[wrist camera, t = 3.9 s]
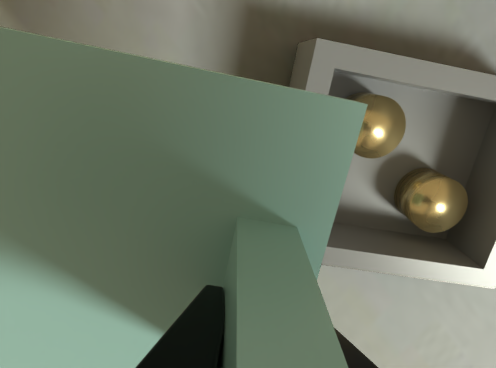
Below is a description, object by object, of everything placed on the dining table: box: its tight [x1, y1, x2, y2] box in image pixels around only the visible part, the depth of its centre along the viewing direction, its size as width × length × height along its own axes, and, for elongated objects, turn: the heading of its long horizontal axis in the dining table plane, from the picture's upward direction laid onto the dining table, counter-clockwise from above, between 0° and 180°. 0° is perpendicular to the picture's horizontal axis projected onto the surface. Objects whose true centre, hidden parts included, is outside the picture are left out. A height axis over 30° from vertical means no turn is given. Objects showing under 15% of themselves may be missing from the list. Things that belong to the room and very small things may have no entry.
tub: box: [289, 38, 496, 289], centre depth 19 cm, size 10×12×4 cm
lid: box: [0, 27, 368, 368], centre depth 7 cm, size 10×12×5 cm
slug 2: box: [394, 168, 468, 233], centre depth 20 cm, size 3×3×2 cm
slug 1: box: [345, 92, 406, 159], centre depth 19 cm, size 3×3×2 cm
